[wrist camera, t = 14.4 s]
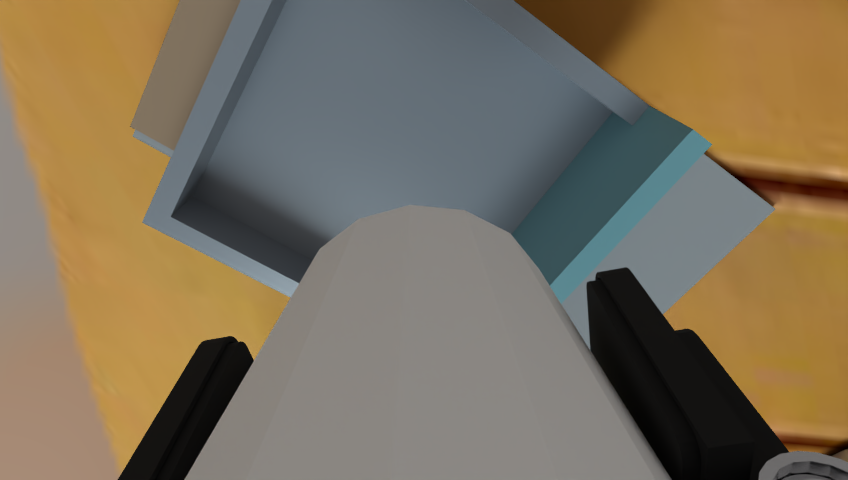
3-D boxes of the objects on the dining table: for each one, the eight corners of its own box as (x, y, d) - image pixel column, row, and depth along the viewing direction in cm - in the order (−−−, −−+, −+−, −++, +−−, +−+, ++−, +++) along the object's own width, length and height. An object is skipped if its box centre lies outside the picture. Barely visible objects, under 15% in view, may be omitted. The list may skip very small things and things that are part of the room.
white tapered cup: (301, 130, 9) (64, 438, 3) (631, 229, 10) (957, 608, 4) (247, 393, 12) (72, 818, 6) (506, 449, 13) (585, 861, 7)
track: (773, 207, 25) (817, 236, 22) (585, 383, 30) (602, 424, 28) (263, -186, 18) (233, -218, 15) (134, 134, 23) (95, 156, 20)
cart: (612, 88, 22) (712, 144, 14) (437, 304, 27) (444, 427, 19) (339, -121, 18) (283, -191, 11) (199, 173, 23) (95, 262, 16)
